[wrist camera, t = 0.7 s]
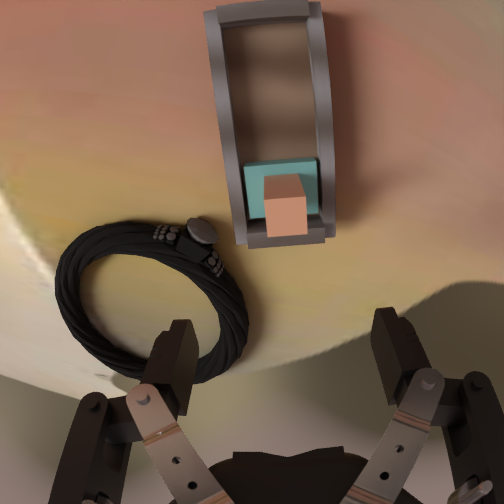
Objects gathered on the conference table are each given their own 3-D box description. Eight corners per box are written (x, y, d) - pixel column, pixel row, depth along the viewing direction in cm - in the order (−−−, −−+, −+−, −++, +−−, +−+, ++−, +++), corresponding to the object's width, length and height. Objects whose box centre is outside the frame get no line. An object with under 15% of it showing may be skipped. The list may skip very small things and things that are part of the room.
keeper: (244, 162, 28) (238, 188, 22) (313, 157, 28) (329, 181, 21) (250, 211, 31) (246, 250, 24) (315, 206, 30) (329, 244, 24)
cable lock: (39, 329, 40) (86, 163, 27) (49, 314, 43) (103, 154, 30) (187, 410, 47) (310, 302, 34) (191, 392, 50) (307, 282, 37)
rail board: (208, 19, 23) (198, 9, 19) (316, 10, 22) (324, -2, 18) (237, 229, 34) (233, 250, 30) (330, 221, 33) (339, 241, 29)
